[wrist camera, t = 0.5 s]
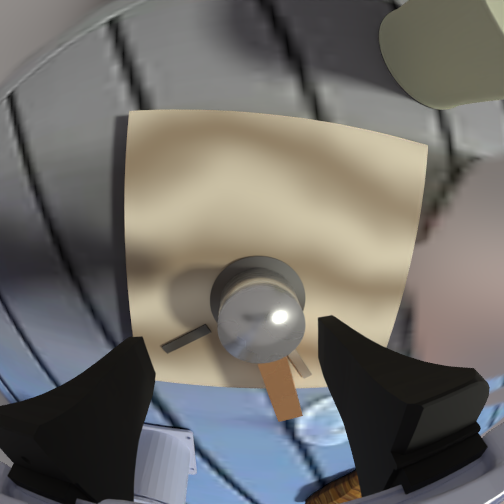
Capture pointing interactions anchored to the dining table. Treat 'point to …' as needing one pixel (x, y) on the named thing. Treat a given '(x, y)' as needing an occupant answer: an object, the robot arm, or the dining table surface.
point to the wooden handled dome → (264, 331)
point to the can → (446, 50)
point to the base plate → (263, 230)
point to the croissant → (338, 491)
